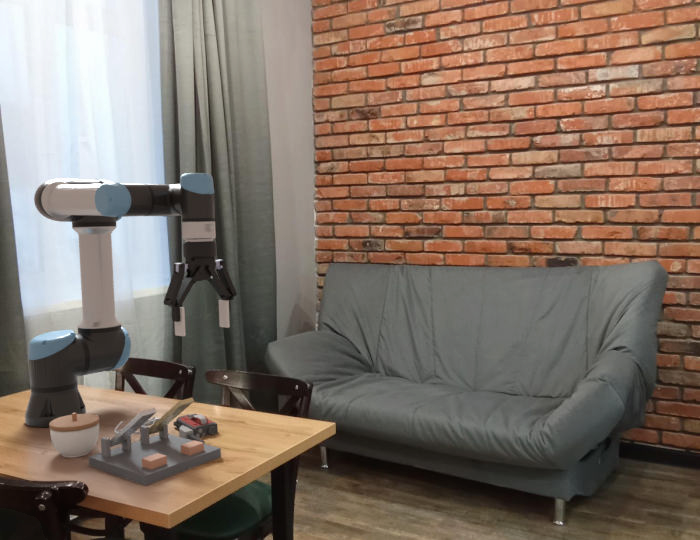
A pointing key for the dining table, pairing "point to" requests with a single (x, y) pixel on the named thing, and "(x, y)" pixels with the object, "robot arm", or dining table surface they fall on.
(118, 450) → the mount plate
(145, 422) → the crossbow
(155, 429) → the brass strap
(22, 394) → the dining table surface
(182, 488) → the dining table surface
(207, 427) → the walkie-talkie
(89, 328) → the robot arm
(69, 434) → the lidded jar
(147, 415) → the steel strap
